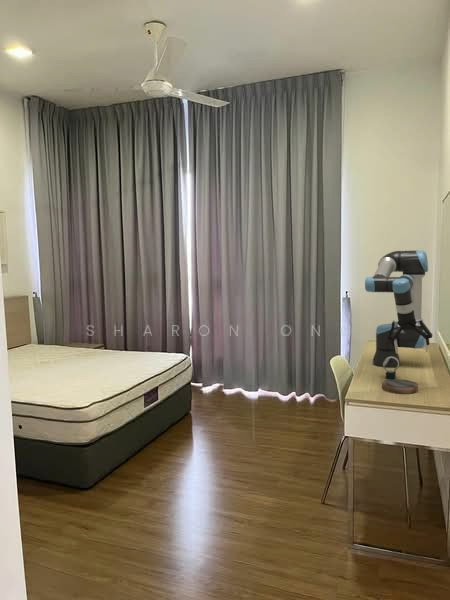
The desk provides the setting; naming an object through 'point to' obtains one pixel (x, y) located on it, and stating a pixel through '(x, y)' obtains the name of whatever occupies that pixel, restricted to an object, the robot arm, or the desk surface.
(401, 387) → the plinth
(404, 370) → the desk surface
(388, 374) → the watch
